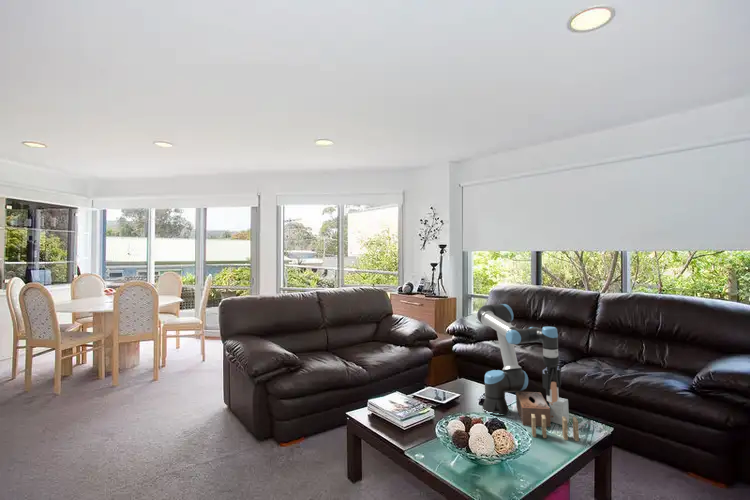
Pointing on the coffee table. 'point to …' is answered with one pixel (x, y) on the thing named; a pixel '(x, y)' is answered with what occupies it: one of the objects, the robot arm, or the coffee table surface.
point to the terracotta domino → (553, 392)
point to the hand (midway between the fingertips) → (552, 400)
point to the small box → (559, 410)
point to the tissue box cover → (532, 408)
